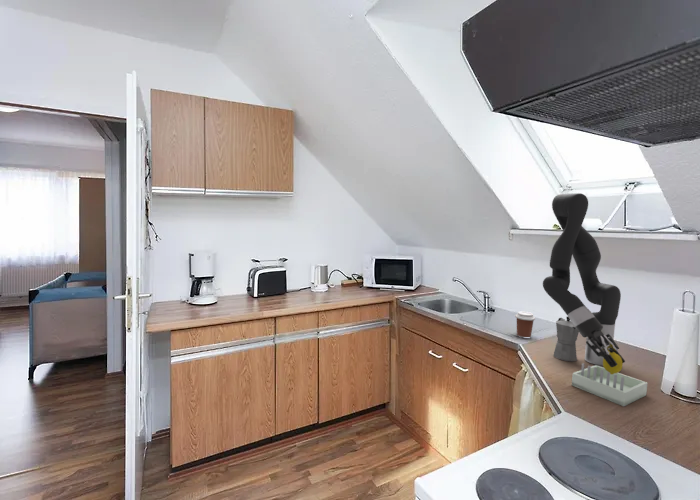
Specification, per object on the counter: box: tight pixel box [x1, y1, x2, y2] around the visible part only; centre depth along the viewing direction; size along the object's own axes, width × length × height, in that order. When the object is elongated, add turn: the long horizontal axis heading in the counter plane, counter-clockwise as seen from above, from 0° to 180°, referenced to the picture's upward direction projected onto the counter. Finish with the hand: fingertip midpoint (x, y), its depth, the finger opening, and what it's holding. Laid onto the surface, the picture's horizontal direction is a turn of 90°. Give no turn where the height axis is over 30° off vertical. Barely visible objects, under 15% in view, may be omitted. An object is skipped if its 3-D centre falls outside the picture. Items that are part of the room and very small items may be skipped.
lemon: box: [602, 352, 624, 374], centre depth 124 cm, size 6×6×8 cm
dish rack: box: [571, 363, 648, 407], centre depth 123 cm, size 16×16×8 cm
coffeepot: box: [553, 316, 580, 362], centre depth 153 cm, size 15×9×18 cm, turn 171°
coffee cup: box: [514, 310, 536, 338], centre depth 180 cm, size 9×9×12 cm
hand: (618, 364), depth 122 cm, fingers closed on lemon, 5 cm apart
